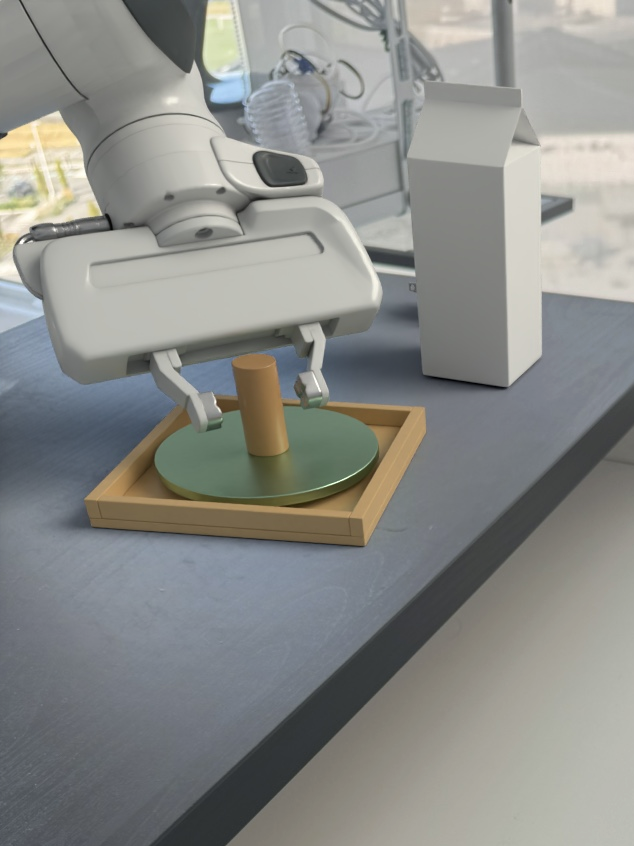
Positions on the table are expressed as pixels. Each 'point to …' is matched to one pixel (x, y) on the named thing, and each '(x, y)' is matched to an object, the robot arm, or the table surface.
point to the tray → (305, 522)
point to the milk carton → (476, 233)
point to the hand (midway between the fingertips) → (265, 415)
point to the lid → (267, 448)
